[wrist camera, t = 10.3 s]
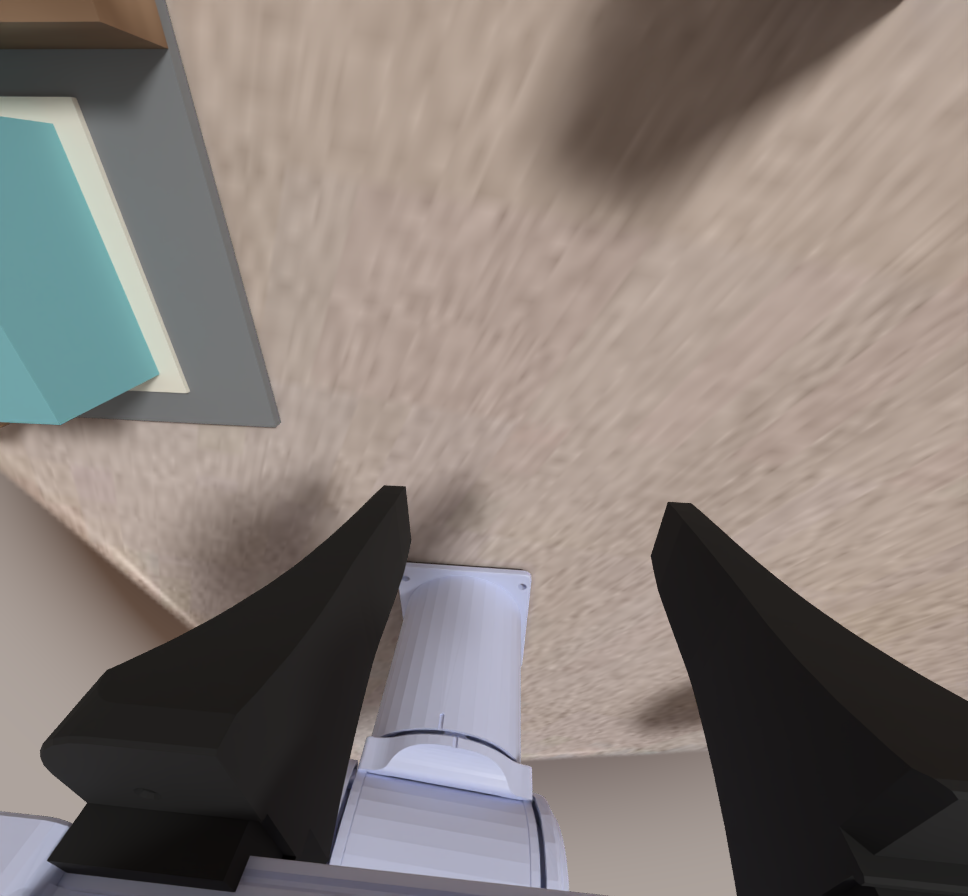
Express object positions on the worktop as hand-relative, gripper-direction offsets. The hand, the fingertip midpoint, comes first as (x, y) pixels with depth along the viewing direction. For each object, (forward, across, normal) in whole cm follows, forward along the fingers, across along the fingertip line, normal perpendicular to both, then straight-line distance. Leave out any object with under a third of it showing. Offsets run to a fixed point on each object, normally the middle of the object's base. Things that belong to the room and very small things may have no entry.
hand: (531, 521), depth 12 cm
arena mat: (+8, +19, -5) cm, 22 cm away
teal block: (+8, +19, -5) cm, 21 cm away
